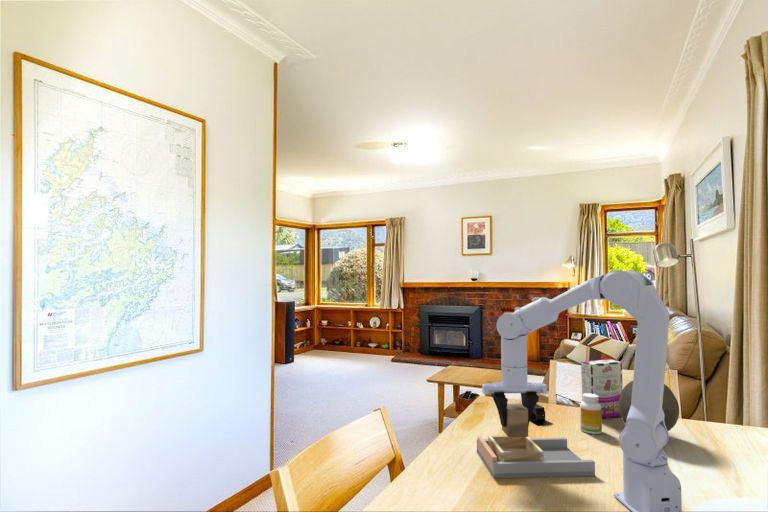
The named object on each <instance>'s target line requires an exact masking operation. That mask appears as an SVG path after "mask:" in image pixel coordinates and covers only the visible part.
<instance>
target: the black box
mask: <svg viewBox="0 0 768 512" xmlns="http://www.w3.org/2000/svg"><path fill="white" fill-rule="evenodd" d="M529 423H532V424H533V425H535V426H537V427H543V426H550V425H551V426H552V425H554V423H552V422H551V421H549V420H547V419H546V410H545V407H544V406H542V405H540V404H538V403H537V404H536V405H535V407H534V409H533V412H532V415H531V418H530V422H529Z"/></svg>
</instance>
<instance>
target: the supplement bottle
mask: <svg viewBox="0 0 768 512" xmlns="http://www.w3.org/2000/svg"><path fill="white" fill-rule="evenodd" d="M583 400H584V401H583V402H582V401H581V402H580V404H579V424H580V425H579V426H580V431H582V432H583V433H586V434H590V435H598V434H599V435H600V434H601V433H602V432H603V427H602V426H603V425H602V424H603V421H602V420H603V419H602V408H601V405H600V404H599V403H598V400H599V397H598V395H595V394H590V393H585V394H583Z"/></svg>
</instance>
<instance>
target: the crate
mask: <svg viewBox="0 0 768 512" xmlns="http://www.w3.org/2000/svg"><path fill="white" fill-rule="evenodd" d="M487 439H488V446H489V447H490V448H491V450H492V451H493V453H494V454H495V455H496V457H497V462H511V461H544V452H543V451H542V450H541V449H540V448H539V447H538V446H537V445H536V444H535V443H534V442H533V441H532V440H531V439H530V436H528V437H508V436H507V435H489V436H488V438H487Z"/></svg>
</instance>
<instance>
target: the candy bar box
mask: <svg viewBox="0 0 768 512" xmlns="http://www.w3.org/2000/svg"><path fill="white" fill-rule="evenodd" d="M622 363H623V362H622V361H619V360H616V359H611V358H610V359H597V360H586V361H581V362H580V369H581V370H580V372H581V376H580V377H581V396H582V397H581V398H582V399H581V402H583V401H584V400H583V394H585V393H590V394H595V395H598V397H599V400H598V403H599V404H600V405H601V408H602V420H603V419H611V418H612V419H613V418H622V417H621V414H620V411H619V398H620V394H621V392H622V390H623V369H622V368H623V365H622Z"/></svg>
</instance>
